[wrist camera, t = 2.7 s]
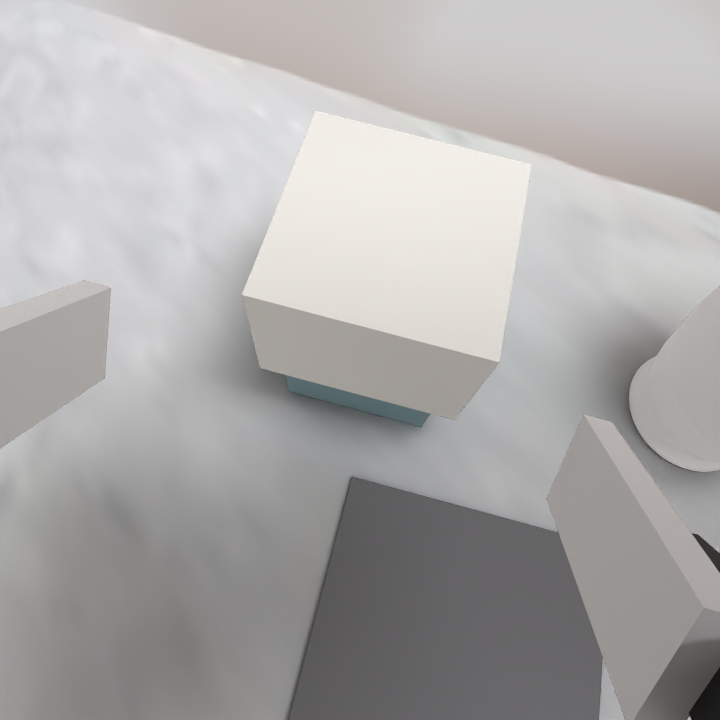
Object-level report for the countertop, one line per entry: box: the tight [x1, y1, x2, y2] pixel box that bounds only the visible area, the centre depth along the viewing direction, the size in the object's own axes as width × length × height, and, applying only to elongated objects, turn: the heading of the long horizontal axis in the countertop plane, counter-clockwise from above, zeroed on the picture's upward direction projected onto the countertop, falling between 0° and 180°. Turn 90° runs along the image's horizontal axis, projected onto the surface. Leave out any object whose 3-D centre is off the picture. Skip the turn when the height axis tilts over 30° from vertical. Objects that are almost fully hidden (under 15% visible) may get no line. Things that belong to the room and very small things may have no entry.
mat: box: [289, 477, 603, 720], centre depth 30 cm, size 16×16×1 cm
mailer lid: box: [242, 111, 532, 420], centre depth 28 cm, size 11×11×8 cm
